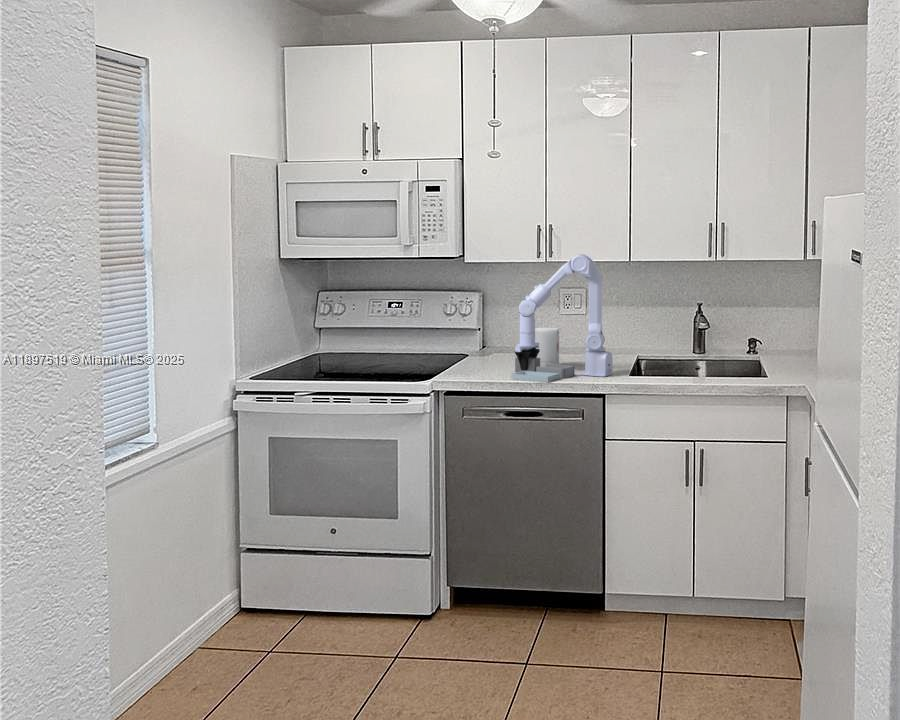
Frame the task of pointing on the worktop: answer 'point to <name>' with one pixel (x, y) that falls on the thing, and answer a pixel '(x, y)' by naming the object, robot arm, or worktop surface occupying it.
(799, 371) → the worktop surface
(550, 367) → the bay
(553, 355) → the grey piece
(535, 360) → the caddy
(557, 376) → the tray
